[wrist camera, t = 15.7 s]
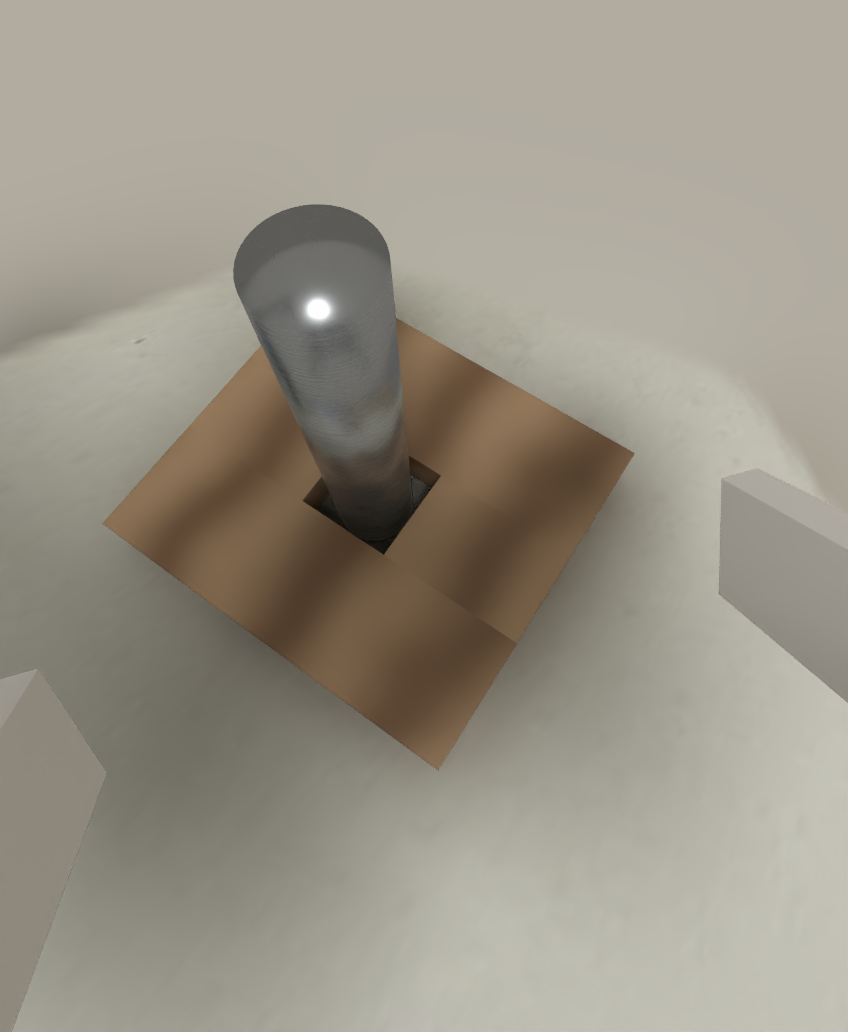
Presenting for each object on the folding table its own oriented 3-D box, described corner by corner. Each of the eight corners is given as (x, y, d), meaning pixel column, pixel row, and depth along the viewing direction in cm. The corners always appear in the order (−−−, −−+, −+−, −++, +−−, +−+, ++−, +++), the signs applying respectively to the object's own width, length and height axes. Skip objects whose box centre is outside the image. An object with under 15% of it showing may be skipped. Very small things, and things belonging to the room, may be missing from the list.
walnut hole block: (127, 538, 32) (102, 523, 29) (329, 305, 36) (322, 276, 34) (437, 765, 28) (438, 770, 25) (619, 472, 33) (634, 453, 30)
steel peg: (324, 515, 32) (201, 283, 15) (368, 458, 33) (298, 182, 16) (384, 555, 31) (327, 358, 14) (427, 496, 32) (421, 247, 15)
